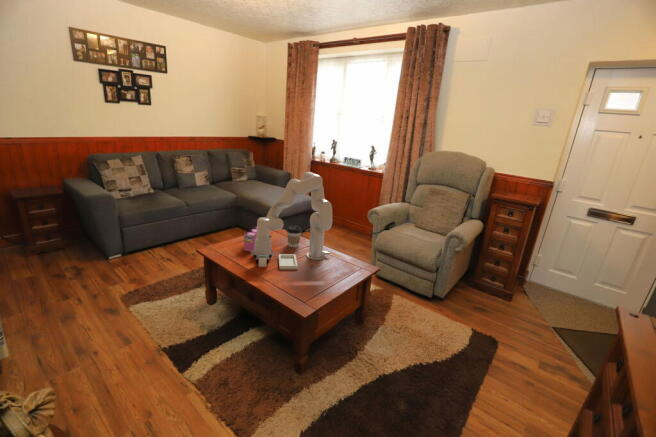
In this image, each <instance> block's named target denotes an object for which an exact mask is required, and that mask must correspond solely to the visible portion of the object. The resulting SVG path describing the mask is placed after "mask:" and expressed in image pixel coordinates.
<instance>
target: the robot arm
mask: <svg viewBox="0 0 656 437" xmlns="http://www.w3.org/2000/svg"><path fill="white" fill-rule="evenodd" d="M323 181H324V180H323V177H322V176H320V175H319V174H316V173H313V172H312V171H311V172H310V171H305V172H303V174H302V176H301V179H300V180H299V179H297V178H291V179H290V180H289V181H288V182H287V184H286V185H285V186H286V187H285V188H284V190H283V192H282V194H281V196H280V198H279V199H278V200H277V201H276V202H274V204H273V205H272V206H271V207H270V209H269V210H268V212H267V214H266V217H265V216H264V217H263V216H261V217H259V218H257V222H256V224H257V225H256V226H257V239H256V241H255V249H254V250H253V251H252V252H251V251H250V255H251V256H252V257H253V258H254V259H255V258H256V260H255V261H256V266H258V265H259V255H267V267H268V266H269V263H270V260H269V259H270V258H271V259H272V257H274V256H275V254H276V253H275V252H274V250H273V249H272V240H271V239H272V238H273V235H270V233H271V231H279V230H281V229H283V227H284V221H283V220H282V219H281V218H279V216H280V214H281V212H282V211H283V210H284V209H287V208H290V207H292V206H293V205H294V203H295V200H296V198H297V196H304V195H306V194H309V193H310V194H311V195H310V196H311V198H310V199H311V200H310V201H311V209H312V210H313V211H314V212H313V213H312V214H311V215H310V219H309V226H310V235H309V246H308V247H309V248H308V249H309V250H308V252H307V253H306V258H308V259H309V260H310V259H311V260H314V261H321V260H324V259H325V256H328V255H330V251H327V250H324V242H325V241H324V239H325V232H326V231H329V230H330V229H331V228H332V226H333V205H332V203H331V201H329V200H327V199H326V198H325V189H324V185H323ZM256 255H257V256H256Z"/></svg>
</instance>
